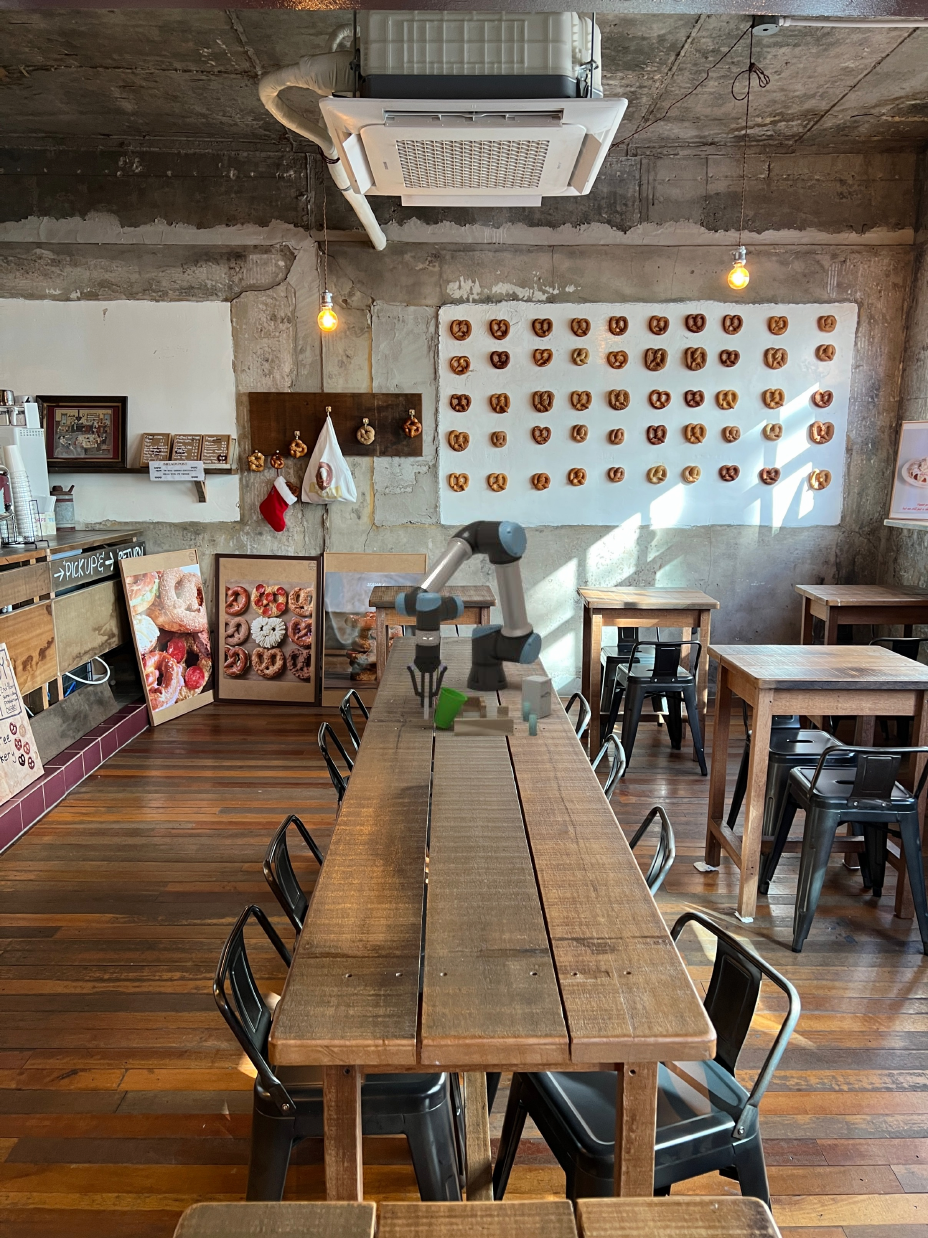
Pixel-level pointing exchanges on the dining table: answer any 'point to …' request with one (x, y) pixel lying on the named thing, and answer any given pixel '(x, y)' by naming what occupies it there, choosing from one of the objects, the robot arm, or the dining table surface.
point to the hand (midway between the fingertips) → (426, 717)
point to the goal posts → (530, 718)
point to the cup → (448, 706)
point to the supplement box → (537, 695)
